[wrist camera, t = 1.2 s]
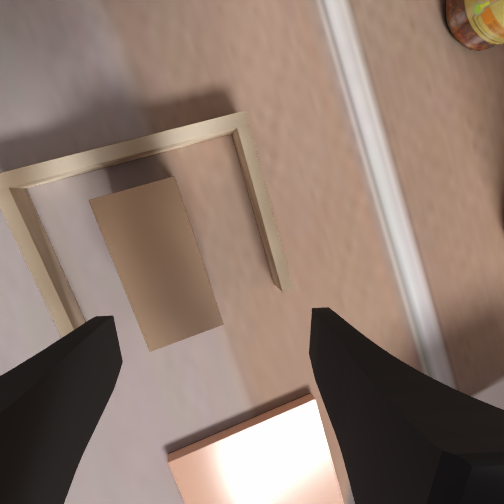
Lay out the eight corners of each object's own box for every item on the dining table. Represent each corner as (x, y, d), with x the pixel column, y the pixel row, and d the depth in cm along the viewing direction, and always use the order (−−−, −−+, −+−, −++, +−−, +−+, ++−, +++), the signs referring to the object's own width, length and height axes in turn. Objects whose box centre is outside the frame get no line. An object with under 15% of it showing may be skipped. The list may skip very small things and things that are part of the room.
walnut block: (157, 310, 22) (149, 351, 16) (114, 199, 20) (88, 200, 14) (212, 291, 22) (223, 324, 17) (175, 182, 21) (174, 176, 15)
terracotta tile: (215, 565, 26) (216, 576, 26) (168, 454, 24) (167, 462, 23) (341, 502, 28) (345, 511, 27) (311, 393, 26) (315, 399, 25)
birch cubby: (84, 351, 21) (75, 367, 19) (5, 178, 18) (-15, 176, 16) (284, 280, 23) (293, 288, 21) (239, 118, 21) (245, 110, 19)
